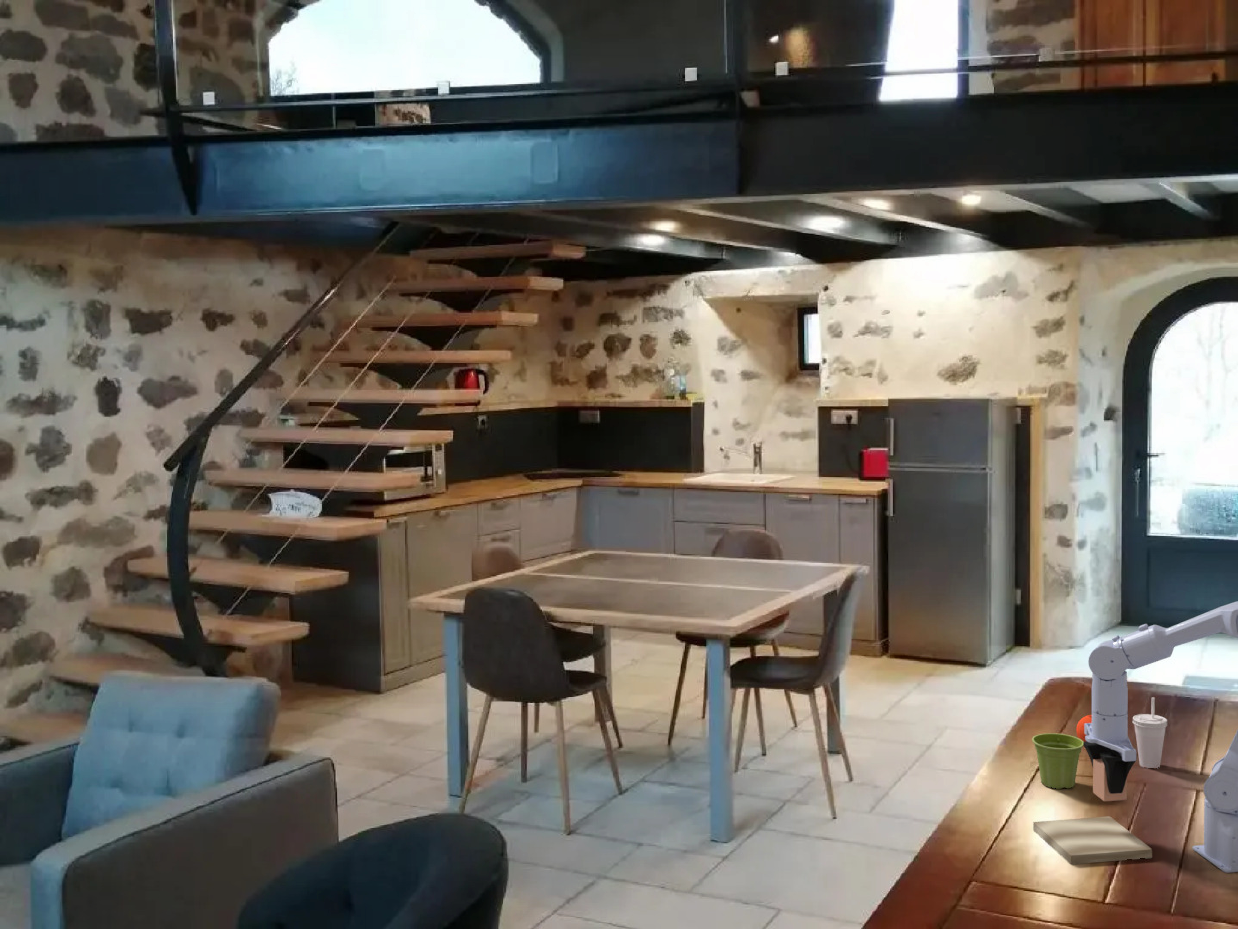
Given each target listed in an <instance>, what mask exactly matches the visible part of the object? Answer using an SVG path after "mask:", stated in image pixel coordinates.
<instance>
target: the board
mask: <svg viewBox="0 0 1238 929" xmlns="http://www.w3.org/2000/svg"><path fill="white" fill-rule="evenodd" d="M1033 831H1034V832H1035V833H1036V834H1037V835H1038V836H1039V837H1040V838H1042V839H1043V841H1044V842H1045V843H1046V844H1048V845H1049V846H1050V847H1051V848H1052V849H1053V850H1054V851H1056V853H1058V854H1059V855H1060V857H1062V858H1063V859H1064V860H1065V861H1066V862H1068V864H1070V865H1078V864H1091V863H1104V862H1116V861H1128V860H1127V859H1132V860H1141V859H1140V858H1145V859H1152V858H1153V849H1152V848H1151V847H1150V846H1149V845H1148V844H1146V843H1145V842H1143V841H1142V840H1141V839H1139V837H1137V836H1135V834H1133V833H1132V832H1130V831H1129V830H1128V829H1127V828H1125V827H1124V826H1122V825H1121V824H1120V823H1119V822H1117V820H1115V819H1114V818H1113V817H1111V816H1096V817H1083V818H1069V819H1055V820H1043V821H1033Z"/></svg>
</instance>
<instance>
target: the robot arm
mask: <svg viewBox="0 0 1238 929" xmlns="http://www.w3.org/2000/svg"><path fill="white" fill-rule="evenodd" d="M1137 629H1138V630H1135V631H1133V632H1131V633H1128V634H1126V635H1122V636H1120V635H1119V634H1117V635H1114V636H1113V637H1112V638H1111V640H1105V641H1103V642H1101V643H1100V644H1098V646H1096V647H1095V648H1094V649H1093V650H1092V651H1091V653H1090V654H1089V656H1088V667H1089V669H1090V671H1091V672H1092V674H1091V675H1092V676H1091V678H1092V681H1091V682H1092V683H1091V715H1092V723H1085V724H1084V734H1086V735H1087V736H1085V740H1086V741H1085V742H1083V745H1084V746H1083V748H1085V750H1086V753H1087V755H1088V757H1089V760H1090V762H1091V766H1092V768H1093V759H1102V761H1103V763H1104V766H1105V770H1106V775H1107V785H1108V790H1109V792H1110V793H1111V794H1116V793H1122V792H1123V789H1124V786H1125V782H1126V779H1127V777H1128V775H1129V773H1130V771H1131V769H1132V767H1133V766H1134V764H1135V763H1136V762H1137V749H1136V748H1134V747H1133V745H1132V742H1131V740H1130V737H1129V736H1128V731H1129V730H1128V726H1129V724H1128V718H1129V717H1128V715H1129V714H1128V709H1129V708H1128V705H1129V704H1128V702H1129V701H1128V700H1129V697H1128V691H1129V689H1128V671H1127V670H1137V669H1139V668H1142V667H1144V666H1147V665H1152V664H1153V663H1157V662H1159V661H1162V660H1164V659H1169V658H1170V657H1172V654H1173V652H1174V649H1175V648H1176V647H1179V646H1181V645H1184V644H1188V643H1190V642H1191V643H1192V642H1194V641H1197V640H1198V641H1199V640H1200V639H1204V638H1206V637H1210V636H1213V635H1214V636H1215V635H1217V634H1219V633H1220V634H1221V633H1222V634H1225V635H1228V636H1231V637H1235V638H1238V600H1237V601H1234V602H1231V603H1228V604H1225V605H1222V606H1218V607H1217V608H1214V609H1212V610H1208V611H1207V612H1204V613H1202V614H1200V615H1197V616H1195V617H1191V618H1189V619H1188V620H1187V619H1186V620H1185V621H1182V622H1179V623H1178V624H1175V625H1172V626H1170V627H1163V626H1160V625H1157V624H1153V625H1150V626H1149V625H1148V623H1144V624H1141V625H1139V626H1138V628H1137ZM1127 780H1128V779H1127ZM1203 794H1204V808H1203V812H1204V813H1203V844H1202V845H1201V844H1199V845H1198V844H1197V845H1192V850H1193V851H1194V852H1196V853H1197V854H1198V855H1200V856H1201V857H1203V858H1204V859H1206V860H1207V861H1208V862H1209V863H1211V864H1213V865H1214V866H1215V867H1217V868H1218V869H1219V870H1221V871H1222V872H1224V873H1226V874H1227V873H1238V729H1237V730H1236V732H1235V734H1234V736H1233V739H1232V740H1231V743H1230V745H1229V747H1228V749H1227V751H1226V754H1225V755H1224V756H1223V757H1222V758H1221V759H1219V760H1217V761H1216V762H1215V763H1214V764H1213V766H1212V768H1211V772H1210V774H1209V777H1207V779H1206V780H1205V782H1204V784H1203Z"/></svg>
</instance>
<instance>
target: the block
mask: <svg viewBox="0 0 1238 929" xmlns="http://www.w3.org/2000/svg"><path fill="white" fill-rule="evenodd" d="M1127 785H1128V779H1126V782H1125V786H1124V789H1123V792H1122V793H1116V794H1111V793H1110V792H1109V790H1108V785H1107V775H1106V770H1105V766H1104V763H1103V761H1102V759H1093V767H1092V793H1093V794H1094V795H1095V796H1096V797H1098V798H1099V799H1101V800H1102V801H1103V802H1112V801H1126V800H1128V799H1127V798H1128V796H1127V792H1128V791H1127V790H1128V786H1127Z"/></svg>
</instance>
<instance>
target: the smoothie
mask: <svg viewBox="0 0 1238 929" xmlns="http://www.w3.org/2000/svg"><path fill="white" fill-rule="evenodd" d="M1155 699H1156V698H1155V697H1152V696H1151V702H1150V703H1151V706H1150V708H1151V711H1150V712H1151V714H1149V713H1139V714H1136V715H1133V717H1132V724H1133V725H1134V731H1135V738H1136V744H1137V745H1136V747H1137V753H1138V761H1139V766H1140V767H1142V768H1144V767H1147V768H1146V769H1148V768H1157V769H1159V768H1160V767H1161V762H1162V761H1161V760H1162V753H1163V748H1164V739H1165V734H1166V727H1167V726H1168V719H1167V718H1165V717H1163V716H1162V715H1161V716H1160V715H1157V714H1155ZM1158 767H1159V768H1158Z"/></svg>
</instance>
